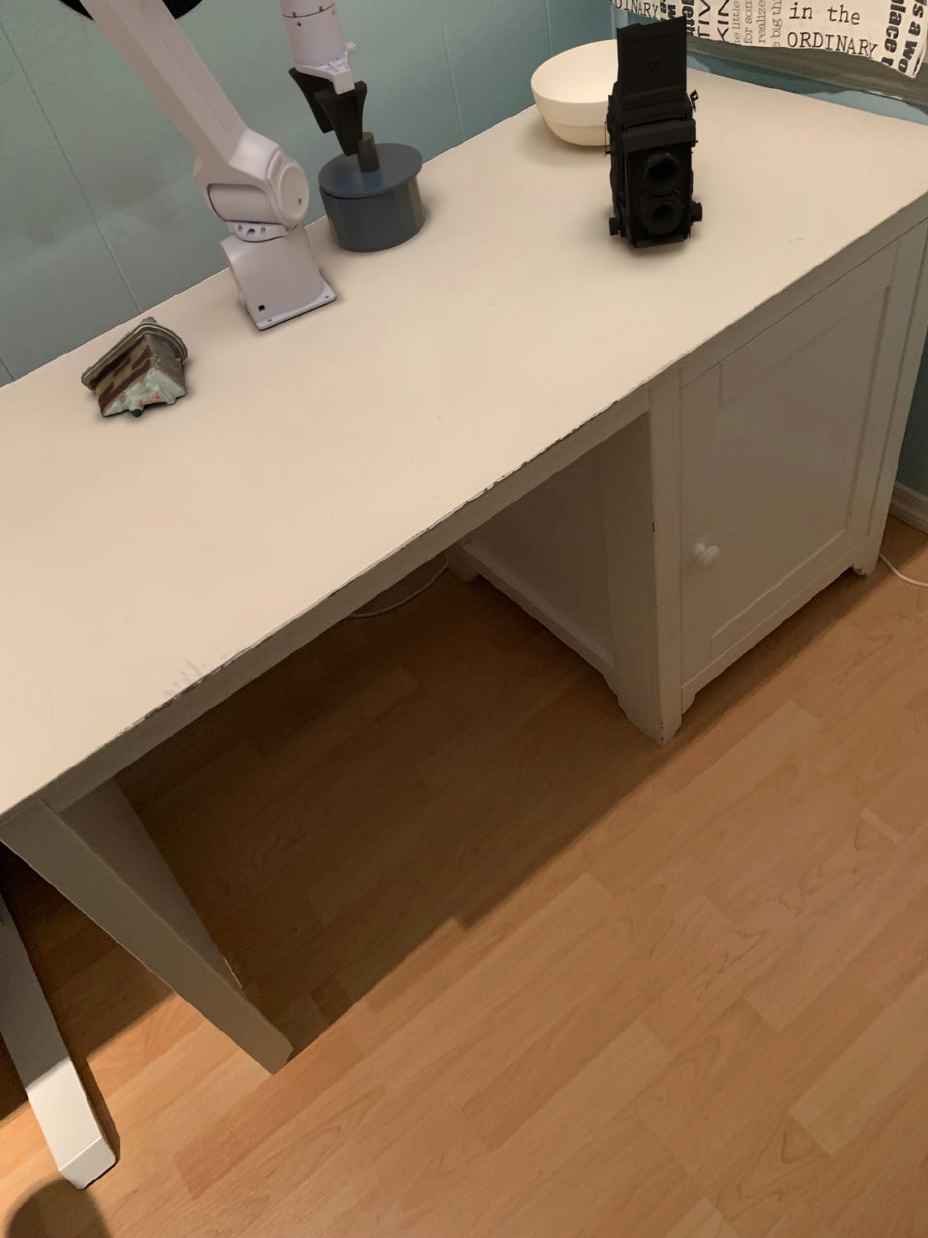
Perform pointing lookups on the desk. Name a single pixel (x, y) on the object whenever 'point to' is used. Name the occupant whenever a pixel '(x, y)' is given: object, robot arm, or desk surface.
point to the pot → (375, 218)
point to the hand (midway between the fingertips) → (341, 141)
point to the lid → (370, 169)
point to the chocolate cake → (139, 370)
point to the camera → (652, 136)
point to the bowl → (577, 91)
